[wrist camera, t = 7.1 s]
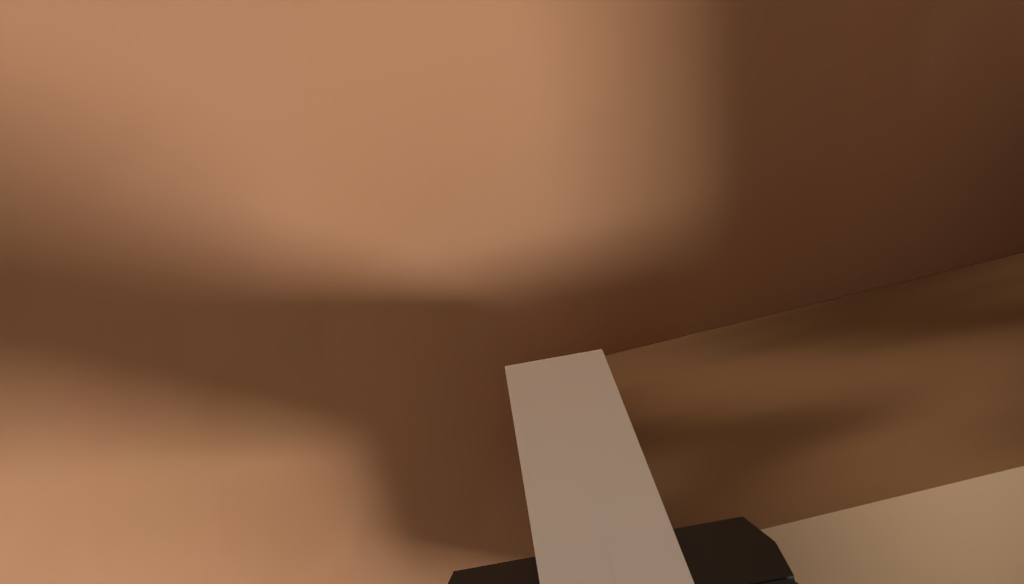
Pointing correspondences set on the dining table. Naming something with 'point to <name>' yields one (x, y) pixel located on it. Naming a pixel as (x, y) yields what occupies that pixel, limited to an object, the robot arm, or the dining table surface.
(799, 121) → the dining table surface
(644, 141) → the dining table surface
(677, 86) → the dining table surface
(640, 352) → the wooden slab
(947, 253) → the dining table surface
